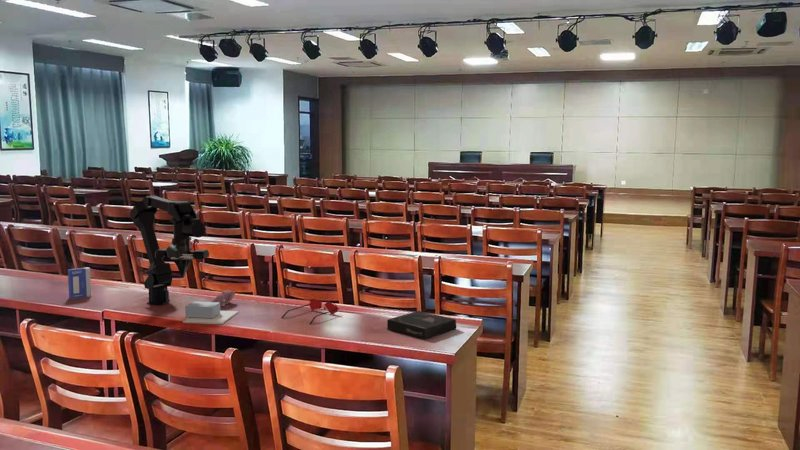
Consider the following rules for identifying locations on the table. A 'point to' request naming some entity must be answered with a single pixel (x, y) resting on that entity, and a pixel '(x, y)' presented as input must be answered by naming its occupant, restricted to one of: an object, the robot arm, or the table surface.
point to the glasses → (317, 305)
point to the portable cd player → (421, 325)
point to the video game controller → (224, 297)
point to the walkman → (79, 282)
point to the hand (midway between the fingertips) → (182, 276)
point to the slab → (202, 309)
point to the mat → (217, 319)
